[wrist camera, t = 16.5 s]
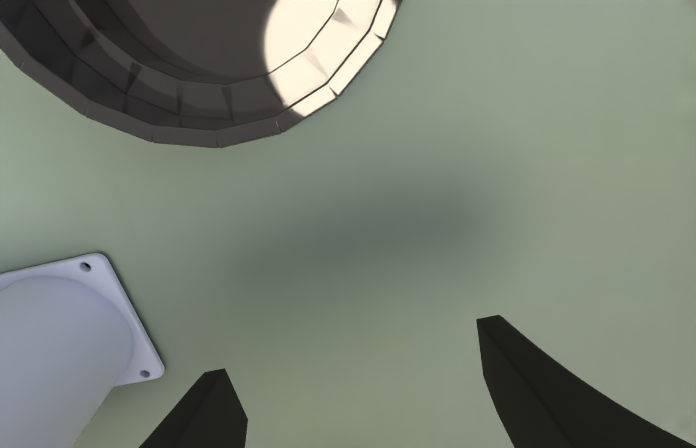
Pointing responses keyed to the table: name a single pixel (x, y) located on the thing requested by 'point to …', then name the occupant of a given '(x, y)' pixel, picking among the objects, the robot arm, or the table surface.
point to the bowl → (195, 61)
